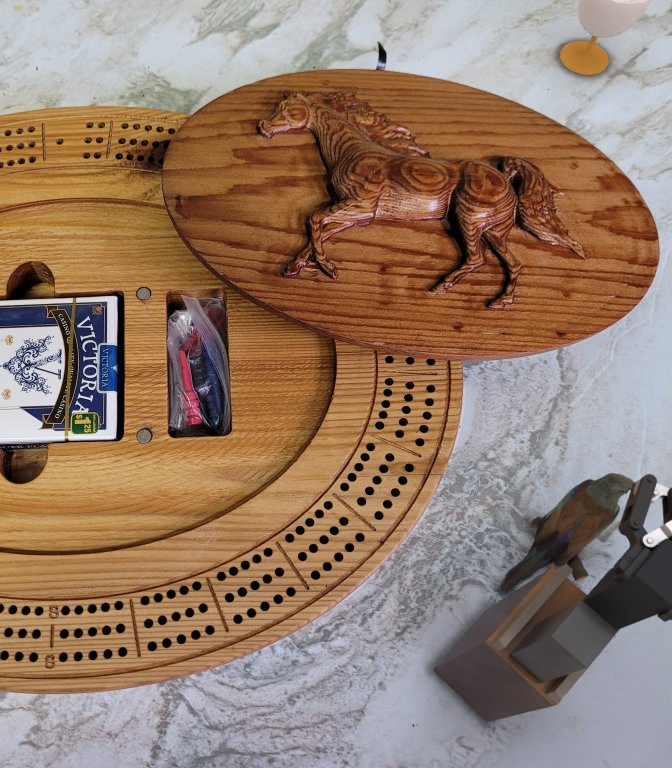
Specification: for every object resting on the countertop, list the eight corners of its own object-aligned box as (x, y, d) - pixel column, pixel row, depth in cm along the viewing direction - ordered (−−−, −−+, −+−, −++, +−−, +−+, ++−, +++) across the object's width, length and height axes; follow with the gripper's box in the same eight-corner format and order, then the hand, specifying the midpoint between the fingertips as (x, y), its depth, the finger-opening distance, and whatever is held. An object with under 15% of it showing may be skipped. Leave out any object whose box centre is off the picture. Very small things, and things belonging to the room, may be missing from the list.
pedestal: (542, 657, 111) (619, 627, 91) (486, 722, 108) (553, 706, 87) (488, 608, 114) (550, 567, 94) (432, 669, 111) (484, 642, 91)
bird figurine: (532, 625, 112) (638, 543, 100) (476, 569, 116) (572, 483, 104) (568, 585, 121) (671, 505, 108) (516, 534, 125) (609, 451, 112)
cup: (546, 71, 158) (583, -6, 143) (558, 31, 163) (595, -48, 147) (610, 86, 156) (654, 10, 140) (620, 45, 160) (664, -34, 145)
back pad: (643, 597, 84) (707, 569, 74) (615, 631, 83) (675, 607, 72) (610, 568, 86) (667, 537, 75) (581, 602, 85) (635, 574, 74)
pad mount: (619, 627, 91) (680, 602, 79) (553, 706, 87) (606, 693, 76) (550, 567, 94) (599, 536, 82) (484, 642, 91) (525, 620, 79)
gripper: (699, 411, 79) (592, 531, 74) (844, 516, 73) (738, 652, 69) (660, 441, 85) (560, 553, 81) (791, 539, 80) (691, 664, 76)
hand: (642, 598), depth 75 cm, fingers closed on back pad, 4 cm apart
